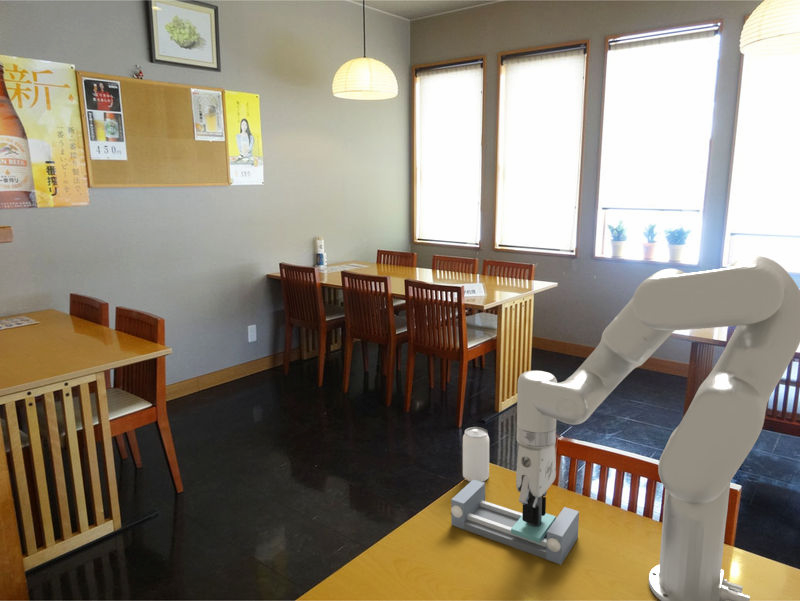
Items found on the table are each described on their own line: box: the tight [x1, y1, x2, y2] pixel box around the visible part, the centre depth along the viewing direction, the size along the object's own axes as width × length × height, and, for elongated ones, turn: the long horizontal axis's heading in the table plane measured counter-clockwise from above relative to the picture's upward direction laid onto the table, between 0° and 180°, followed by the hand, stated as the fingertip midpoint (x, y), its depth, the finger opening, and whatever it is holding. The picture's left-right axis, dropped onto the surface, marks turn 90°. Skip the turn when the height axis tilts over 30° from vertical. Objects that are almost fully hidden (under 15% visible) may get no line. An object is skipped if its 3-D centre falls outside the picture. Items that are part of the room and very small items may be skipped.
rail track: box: [450, 479, 580, 566], centre depth 118 cm, size 24×10×6 cm, turn 55°
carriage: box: [511, 494, 557, 543], centre depth 115 cm, size 6×9×8 cm, turn 145°
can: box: [462, 426, 490, 483], centre depth 140 cm, size 6×6×12 cm
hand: (534, 517), depth 115 cm, fingers closed on carriage, 3 cm apart
